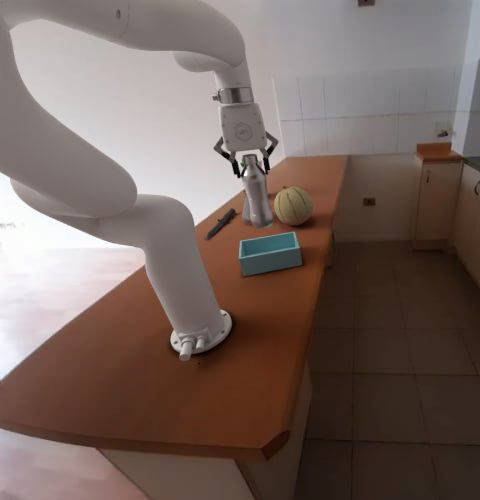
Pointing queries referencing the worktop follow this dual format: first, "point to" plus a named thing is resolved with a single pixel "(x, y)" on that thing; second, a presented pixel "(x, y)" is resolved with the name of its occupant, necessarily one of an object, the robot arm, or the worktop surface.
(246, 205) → the coffee pot
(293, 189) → the cantaloupe
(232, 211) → the knife
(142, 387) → the worktop surface
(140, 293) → the worktop surface
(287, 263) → the bin
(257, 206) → the silver metal bottle
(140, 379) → the worktop surface
